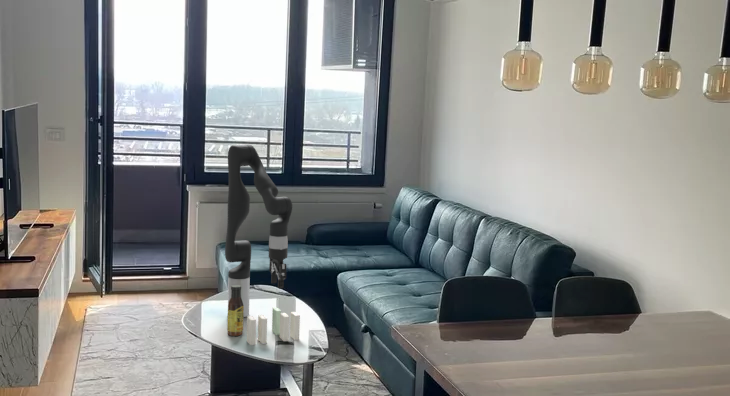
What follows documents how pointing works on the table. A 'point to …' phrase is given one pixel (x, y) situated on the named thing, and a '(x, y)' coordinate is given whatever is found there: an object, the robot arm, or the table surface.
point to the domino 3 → (276, 321)
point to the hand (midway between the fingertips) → (277, 285)
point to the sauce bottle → (235, 312)
